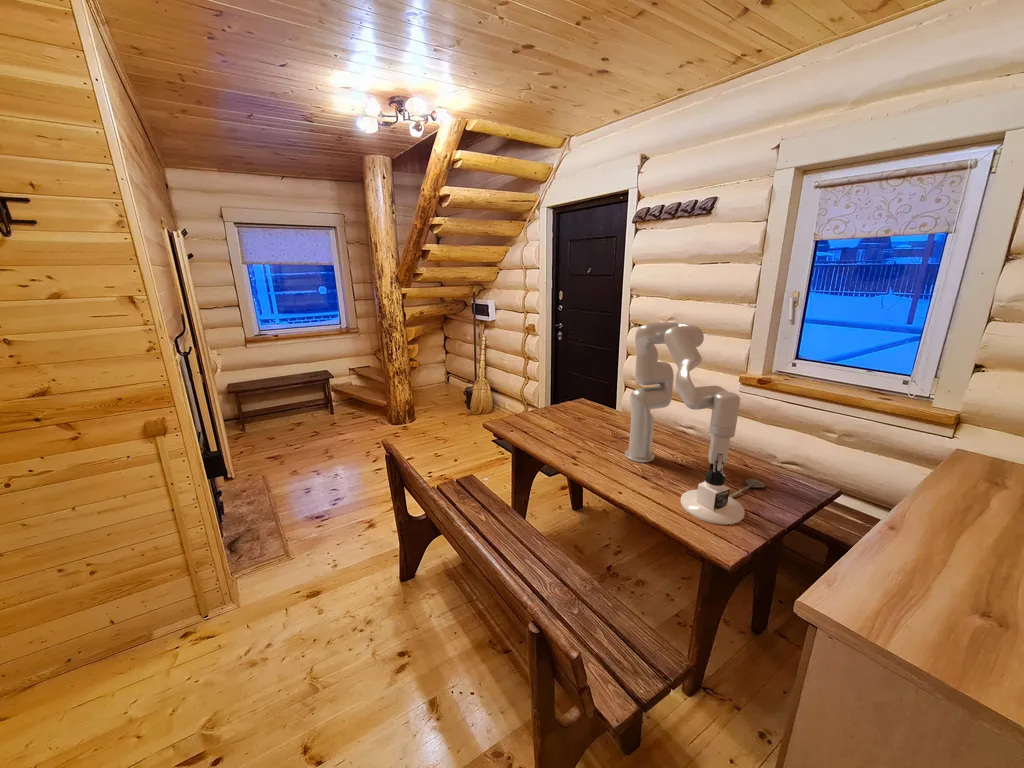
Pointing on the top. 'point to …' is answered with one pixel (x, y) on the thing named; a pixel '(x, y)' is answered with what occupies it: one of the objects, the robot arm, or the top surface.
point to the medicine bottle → (712, 493)
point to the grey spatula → (750, 485)
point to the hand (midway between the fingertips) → (715, 476)
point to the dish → (722, 516)
